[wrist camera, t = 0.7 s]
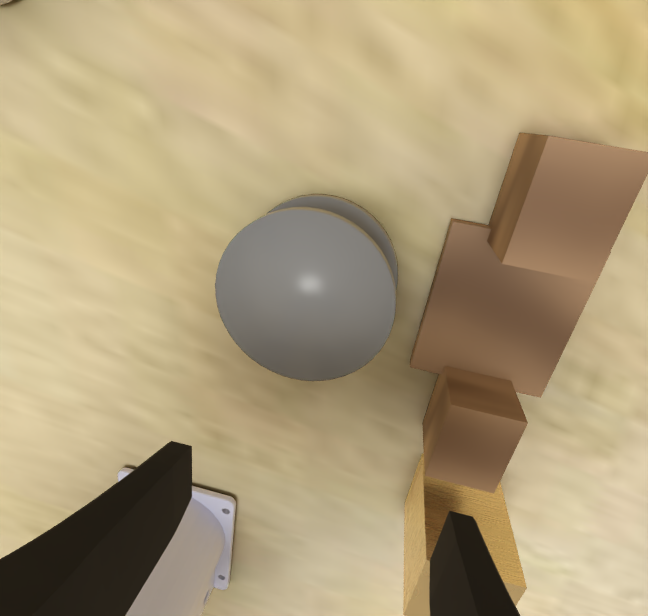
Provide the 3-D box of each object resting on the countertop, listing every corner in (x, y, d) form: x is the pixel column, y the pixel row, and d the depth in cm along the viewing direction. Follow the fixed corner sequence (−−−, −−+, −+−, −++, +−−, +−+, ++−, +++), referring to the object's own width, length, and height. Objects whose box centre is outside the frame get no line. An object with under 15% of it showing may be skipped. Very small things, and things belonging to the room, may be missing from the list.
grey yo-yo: (379, 353, 20) (373, 398, 17) (243, 322, 21) (212, 359, 17) (415, 211, 17) (416, 232, 14) (253, 180, 18) (218, 193, 14)
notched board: (510, 445, 21) (528, 502, 18) (393, 416, 21) (391, 467, 18) (648, 154, 15) (713, 163, 11) (478, 125, 15) (496, 127, 12)
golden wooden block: (473, 522, 23) (497, 662, 17) (404, 503, 24) (403, 634, 18) (497, 472, 22) (532, 609, 16) (422, 453, 22) (427, 579, 16)
